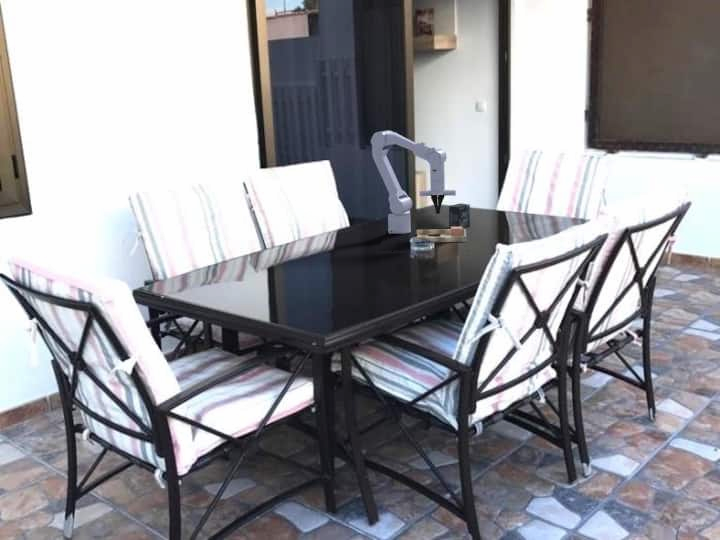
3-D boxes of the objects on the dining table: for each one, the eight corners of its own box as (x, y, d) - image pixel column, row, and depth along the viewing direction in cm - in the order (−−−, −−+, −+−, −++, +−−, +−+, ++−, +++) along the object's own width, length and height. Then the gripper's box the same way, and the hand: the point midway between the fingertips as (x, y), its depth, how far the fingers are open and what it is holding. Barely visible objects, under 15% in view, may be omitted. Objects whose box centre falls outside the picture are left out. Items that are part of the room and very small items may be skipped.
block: (451, 238, 293) (450, 228, 292) (451, 236, 297) (451, 226, 296) (462, 238, 292) (462, 228, 291) (462, 236, 296) (462, 226, 295)
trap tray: (414, 245, 290) (414, 237, 289) (416, 236, 305) (416, 229, 304) (466, 244, 287) (465, 237, 286) (466, 236, 302) (466, 228, 301)
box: (459, 231, 312) (458, 206, 309) (448, 230, 316) (448, 205, 313) (470, 228, 317) (470, 204, 314) (460, 226, 321) (459, 203, 318)
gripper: (418, 182, 294) (419, 215, 298) (455, 181, 292) (455, 214, 295) (420, 179, 301) (420, 212, 304) (455, 178, 299) (456, 211, 302)
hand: (438, 213), depth 300 cm, fingers closed
